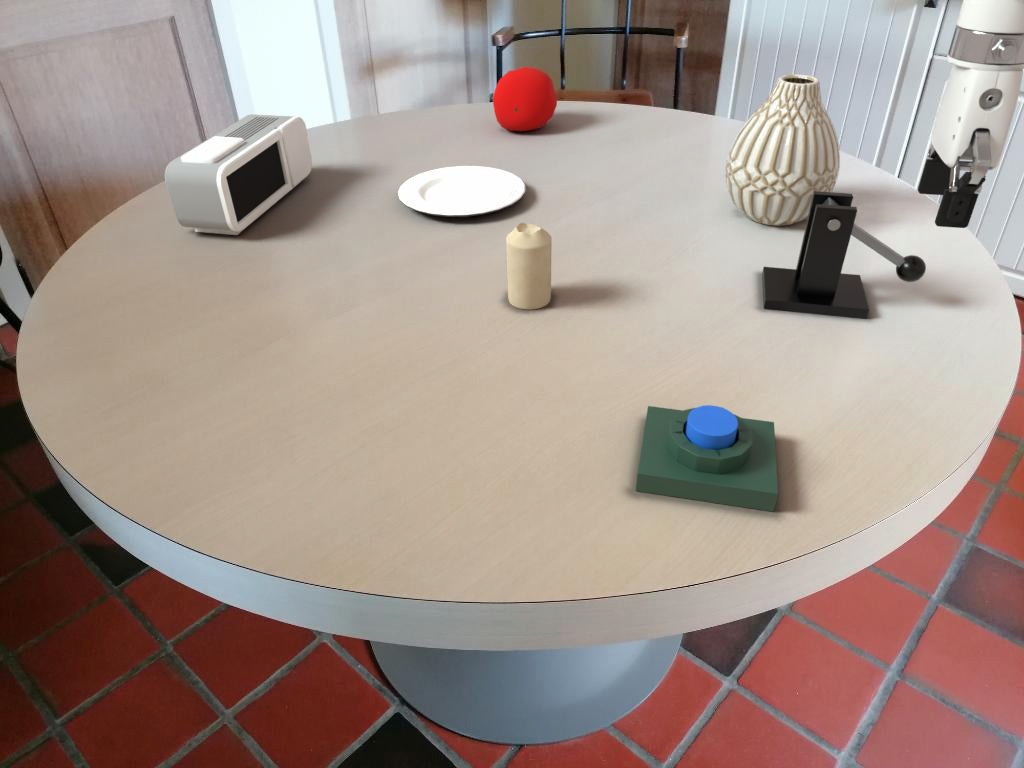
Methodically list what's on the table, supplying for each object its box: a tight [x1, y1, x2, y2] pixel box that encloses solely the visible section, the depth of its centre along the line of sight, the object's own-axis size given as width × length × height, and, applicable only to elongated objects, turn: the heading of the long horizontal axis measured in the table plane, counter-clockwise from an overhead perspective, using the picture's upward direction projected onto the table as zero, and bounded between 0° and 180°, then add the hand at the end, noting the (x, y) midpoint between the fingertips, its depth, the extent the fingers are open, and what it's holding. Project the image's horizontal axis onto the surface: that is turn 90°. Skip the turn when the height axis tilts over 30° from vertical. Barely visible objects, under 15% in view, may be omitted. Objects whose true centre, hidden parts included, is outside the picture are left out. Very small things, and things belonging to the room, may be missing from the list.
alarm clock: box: [164, 113, 313, 236], centre depth 120 cm, size 27×9×12 cm, turn 167°
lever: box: [822, 197, 927, 283], centre depth 90 cm, size 15×3×3 cm, turn 76°
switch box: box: [635, 405, 779, 512], centre depth 69 cm, size 12×10×4 cm
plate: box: [397, 165, 526, 218], centre depth 123 cm, size 21×21×2 cm
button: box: [686, 404, 738, 450], centre depth 68 cm, size 4×4×2 cm
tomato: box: [492, 66, 558, 132], centre depth 150 cm, size 13×13×13 cm
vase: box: [725, 73, 841, 227], centre depth 110 cm, size 16×16×20 cm
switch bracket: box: [761, 191, 870, 320], centre depth 92 cm, size 12×9×13 cm
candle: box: [505, 222, 553, 310], centre depth 93 cm, size 6×6×10 cm
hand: (940, 209), depth 85 cm, fingers open, 9 cm apart
